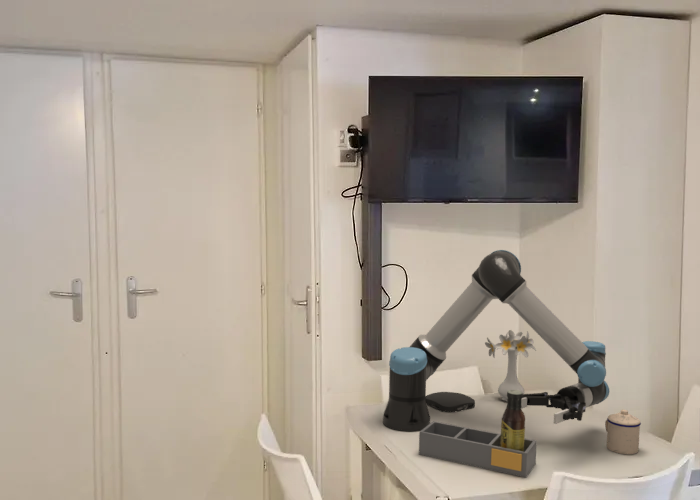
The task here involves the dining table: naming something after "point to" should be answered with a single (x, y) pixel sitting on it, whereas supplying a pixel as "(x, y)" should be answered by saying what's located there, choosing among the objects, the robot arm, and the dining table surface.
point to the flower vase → (511, 358)
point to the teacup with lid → (623, 433)
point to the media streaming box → (449, 401)
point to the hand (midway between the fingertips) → (533, 412)
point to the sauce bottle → (513, 422)
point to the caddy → (475, 448)
